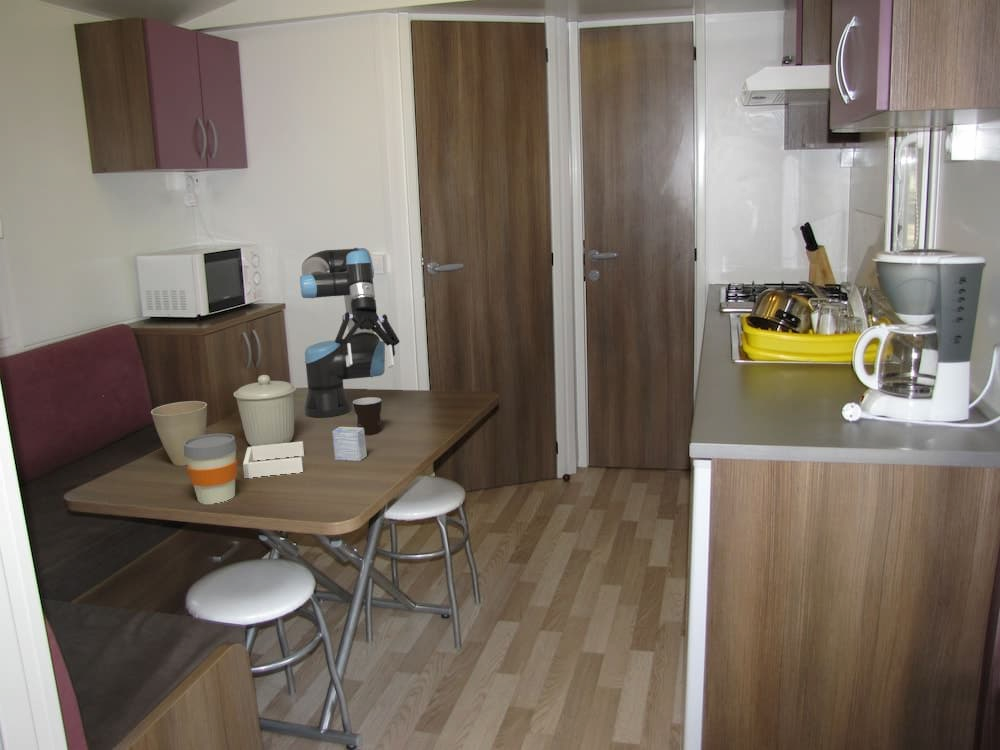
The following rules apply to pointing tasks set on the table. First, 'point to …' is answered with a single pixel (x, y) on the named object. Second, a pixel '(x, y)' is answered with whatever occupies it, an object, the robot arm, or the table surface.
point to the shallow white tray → (273, 466)
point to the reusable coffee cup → (212, 466)
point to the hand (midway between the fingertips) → (370, 366)
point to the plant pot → (179, 426)
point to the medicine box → (349, 443)
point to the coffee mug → (368, 414)
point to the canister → (267, 411)
